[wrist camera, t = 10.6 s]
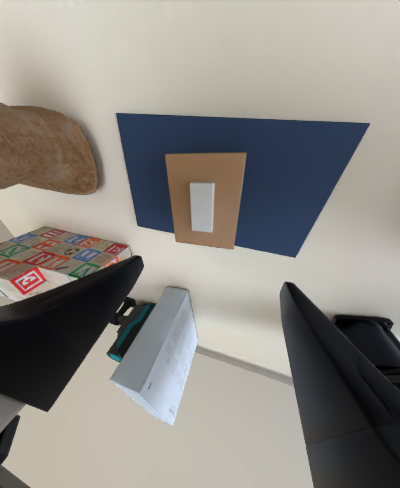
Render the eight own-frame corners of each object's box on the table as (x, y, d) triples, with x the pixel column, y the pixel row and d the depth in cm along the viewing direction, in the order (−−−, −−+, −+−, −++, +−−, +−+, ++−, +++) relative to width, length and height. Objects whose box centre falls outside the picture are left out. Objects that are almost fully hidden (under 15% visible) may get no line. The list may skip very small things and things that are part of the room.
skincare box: (164, 284, 31) (106, 380, 18) (188, 288, 30) (143, 395, 17) (180, 335, 42) (151, 417, 29) (198, 340, 41) (175, 428, 28)
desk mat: (367, 124, 12) (370, 123, 12) (294, 256, 20) (295, 257, 19) (118, 113, 16) (115, 113, 16) (139, 225, 24) (137, 226, 24)
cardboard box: (247, 151, 15) (247, 152, 10) (237, 226, 19) (233, 253, 14) (186, 152, 16) (160, 153, 11) (190, 222, 21) (172, 245, 16)
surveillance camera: (78, 343, 28) (123, 360, 26) (121, 293, 38) (156, 303, 36) (88, 354, 31) (129, 371, 29) (126, 306, 41) (158, 316, 39)
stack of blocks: (129, 244, 27) (62, 299, 17) (136, 269, 31) (83, 326, 21) (43, 226, 31) (-51, 261, 21) (58, 249, 35) (-18, 289, 25)
